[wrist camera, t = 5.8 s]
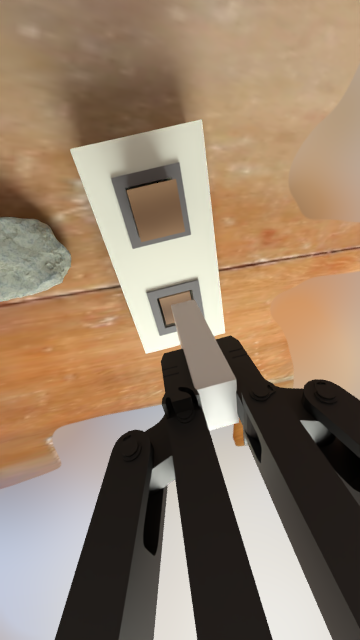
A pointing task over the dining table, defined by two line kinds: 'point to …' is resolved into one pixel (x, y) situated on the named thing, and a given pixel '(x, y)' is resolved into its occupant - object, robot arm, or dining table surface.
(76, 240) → the dining table surface
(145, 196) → the peg
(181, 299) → the peg
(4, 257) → the decorative stone
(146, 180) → the socket block
